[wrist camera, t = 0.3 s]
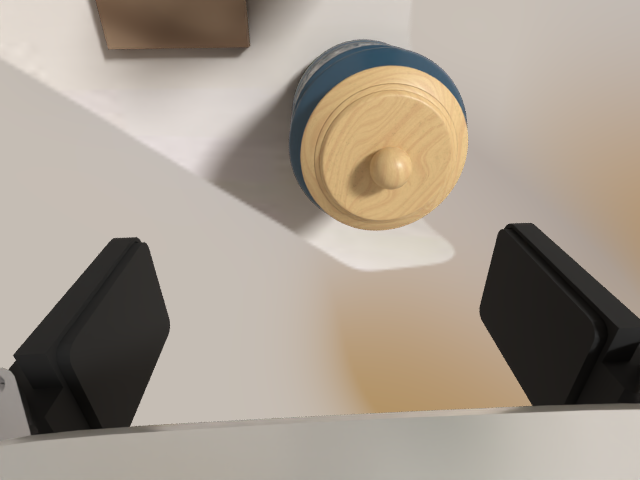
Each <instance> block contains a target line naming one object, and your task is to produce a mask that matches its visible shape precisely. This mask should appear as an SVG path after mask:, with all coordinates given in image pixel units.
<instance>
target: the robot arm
mask: <svg viewBox="0 0 640 480" xmlns="http://www.w3.org/2000/svg"><path fill="white" fill-rule="evenodd" d="M480 316H481V320H482V321H483V323H484V325H485V326H486V328H487V330H488V332H489V333H490V335H491V337H492V338H493V340H494V341H495V343H496V345H497V347H498V348H499V350H500V352H501V353H502V355H503V357H504V358H505V360H506V362H507V364H508V365H509V367H510V368H511V370H512V372H513V374H514V375H515V377H516V378H517V380H518V382H519V384H520V385H521V387H522V389H523V390H524V392H525V394H526V395H527V397H528V399H529V401H530V402H531V404H532V406H523V407H501V408H479V409H455V410H432V411H411V412H391V413H370V414H350V415H332V416H331V415H330V416H311V417H291V418H272V419H254V420H235V421H217V422H200V423H181V424H164V425H148V426H135V427H130V425H131V423H132V420H133V417H134V416H135V413H136V411H137V408H138V406H139V404H140V401H141V399H142V396H143V394H144V391H145V389H146V387H147V384H148V382H149V380H150V377H151V375H152V372H153V370H154V368H155V365H156V363H157V360H158V358H159V356H160V353H161V351H162V348H163V346H164V344H165V341H166V339H167V337H168V334H169V329H170V321H169V317H168V313H167V310H166V306H165V303H164V299H163V296H162V292H161V289H160V286H159V282H158V278H157V275H156V271H155V268H154V264H153V261H152V257H151V254H150V250H149V247H148V245H147V244H146V243H145V242H144V243H141V241H140V239H138V238H137V237H135V238H113V239H112V240H111V241H110V242H109V243H108V244H107V246H106V247H105V248H104V249H103V250H102V252H101V253H100V254H99V255H98V256H97V257H96V259H95V260H94V261H93V262H92V263H91V264H90V266H89V267H88V268H87V269H86V270H85V271H84V273H83V274H82V275H81V276H80V277H79V278H78V280H77V281H76V282H75V283H74V284H73V285H72V287H71V288H70V289H69V290H68V291H67V293H66V294H65V295H64V296H63V297H62V298H61V300H60V301H59V302H58V303H57V304H56V305H55V307H54V308H53V309H52V310H51V311H50V313H49V314H48V315H47V316H46V317H45V318H44V320H43V321H42V322H41V323H40V324H39V325H38V327H37V328H36V329H35V330H34V331H33V333H32V334H31V335H30V336H29V337H28V338H27V340H26V341H25V342H24V343H23V344H22V345H21V347H20V348H19V349H18V350H17V351H16V353H15V354H14V355H13V356H14V358H15V359H16V361H15V362H14V364H13V365H12V366H11V367H10V368H9V370H7V369H4V368H0V480H640V319H639V318H638V317H637V316H636V315H635V314H634V313H632V312H631V311H630V310H629V309H628V308H627V307H626V306H625V305H624V304H622V303H621V302H620V301H619V300H618V299H617V298H616V297H615V296H613V295H612V294H611V293H610V292H609V291H608V290H607V289H606V288H605V287H603V286H602V285H601V284H600V283H599V282H598V281H596V280H595V279H594V278H593V277H592V276H591V275H590V274H589V273H588V272H587V271H585V270H584V269H583V268H582V267H581V266H580V265H579V264H578V263H577V262H575V261H574V260H573V259H572V258H571V257H570V256H569V255H568V254H566V253H565V252H564V251H563V250H562V249H561V248H560V247H559V246H558V245H556V244H555V243H554V242H553V241H552V240H551V239H550V238H548V237H547V236H546V235H545V234H544V233H543V232H542V231H541V230H540V229H538V228H537V227H536V226H535V225H534V224H532V223H515V224H508V225H507V226H506V227H505V228H504V229H502V230H500V231H499V233H498V235H497V239H496V244H495V248H494V251H493V255H492V260H491V264H490V268H489V272H488V276H487V280H486V284H485V288H484V292H483V296H482V300H481V304H480Z"/></svg>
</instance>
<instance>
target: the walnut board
mask: <svg viewBox="0 0 640 480" xmlns="http://www.w3.org/2000/svg"><path fill="white" fill-rule="evenodd" d="M96 4H97V8H98V12H99V16H100V19H101V23H102V27H103V31H104V35H105V39H106V42H107V46H108V49H160V48H229V47H249V46H250V39H249V28H248V17H247V6H246V0H96Z"/></svg>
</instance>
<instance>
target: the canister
mask: <svg viewBox="0 0 640 480" xmlns="http://www.w3.org/2000/svg"><path fill="white" fill-rule="evenodd" d="M467 148H468V132H467V119H466V111H465V107H464V104H463V100H462V98H461V95H460V93H459V91H458V89H457V87H456V86H455V84H454V82H453V81H452V80H451V78H450V77H449V76H448V75H447V73H446V72H445V71H444V70H443V69H442V68H440V67H439V66H438V65H437V64H436V63H434V62H433V61H431V60H430V59H428V58H426V57H424V56H422V55H420V54H418V53H415V52H412V51H409V50H405V49H402V48H399V47H395V46H391V45H389V44H386V43H383V42H380V41H375V40H352V41H347V42H344V43H341V44H338V45H336V46H334V47H332V48H330V49H328V50H327V51H325V52H324V53H322V54H321V55H320V56H319V57H317V58H316V59H315V60H314V61H313V62H312V63H311V65H310V66H309V67H308V68H307V70H306V71H305V72H304V74H303V76H302V77H301V79H300V81H299V83H298V86H297V88H296V91H295V95H294V99H293V104H292V117H291V124H290V133H289V155H290V161H291V166H292V169H293V172H294V175H295V177H296V180H297V182H298V184H299V185H300V187H301V189H302V190H303V192H304V193H305V194H306V196H307V197H308V198H309V199H310V200H311V201H312V202H313V203H314V204H315V205H316V206H317V207H318V208H320V209H321V210H322V211H324V212H325V213H327V214H328V215H330V216H331V217H333V218H334V219H336V220H337V221H339V222H341V223H343V224H346V225H348V226H351V227H354V228H358V229H364V230H389V229H394V228H398V227H402V226H405V225H408V224H410V223H413V222H415V221H417V220H419V219H420V218H422V217H424V216H425V215H427V214H428V213H430V212H431V211H432V210H434V209H435V208H436V207H437V206H438V205H439V204H440V203H441V202H442V201H443V200H444V199H445V198H446V197H447V196H448V194H449V193H450V192H451V190H452V189H453V188H454V186H455V184H456V183H457V181H458V179H459V177H460V175H461V172H462V170H463V167H464V164H465V160H466V155H467Z"/></svg>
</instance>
